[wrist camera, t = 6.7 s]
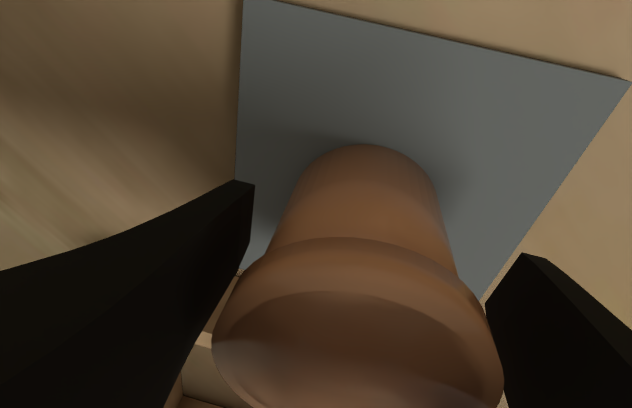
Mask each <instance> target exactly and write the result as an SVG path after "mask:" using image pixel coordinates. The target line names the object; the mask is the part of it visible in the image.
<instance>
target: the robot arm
mask: <svg viewBox="0 0 632 408" xmlns="http://www.w3.org/2000/svg"><path fill="white" fill-rule="evenodd" d="M254 194H255V185H254V184H250V183H246V182H242V181H238V180H235V179H233V180H231V181H229V182H227V183H225V184H223V185H221V186H219V187H217V188H215V189H213V190H211V191H209V192H208V193H206V194H204V195H202V196H200V197H198V198H196V199H194V200H192V201H190V202H188V203H186V204H184V205H182V206H180V207H178V208H176V209H174V210H172V211H170V212H167V213H165V214H163V215H161V216H158V217H156V218H154V219H152V220H149V221H147V222H145V223H143V224H140V225H138V226H136V227H134V228H131V229H129V230H126V231H124V232H121V233H119V234H116V235H113V236H111V237H108V238H105V239H103V240H100V241H97V242H94V243H91V244H88V245H86V246H83V247H80V248H77V249H74V250H71V251H68V252H64V253H61V254H57V255H54V256H51V257H47V258H44V259H40V260H37V261H34V262H30V263H27V264H23V265H20V266H16V267H13V268H10V269H6V270H2V271H0V408H164V405H165V403H166V401H167V399H168V397H169V395H170V392H171V390H172V388H173V386H174V384H175V382H176V380H177V378H178V376H179V373H180V371H181V369H182V367H183V365H184V363H185V361H186V359H187V357H188V355H189V353H190V351H191V350H192V348H193V346H194V344H195V342H196V340H197V339H198V337H199V335H200V334H201V332H202V330H203V329H204V327H205V325H206V324H207V322H208V320H209V319H210V317H211V315H212V314H213V312H214V310H215V309H216V307H217V305H218V304H219V302H220V300H221V299H222V297H223V295H224V293H225V292H226V290H227V288H228V287H229V285H230V283H231V282H232V280H233V278H234V276H235V275H236V273H237V271H238V269H239V266H240V264H241V262H242V260H243V257H244V255H245V253H246V250H247V248H248V246H249V243H250V237H251V227H252V216H253V205H254ZM485 310H486V318H487V321H488V324H489V327H490V330H491V334H492V337H493V340H494V343H495V346H496V349H497V353H498V356H499V359H500V362H501V365H502V369H503V375H504V393H505V396H506V400H507V403H508V407H509V408H632V330H631V329H630V328H628V327H627V326H626V325H625V324H624V323H623V322H621V321H620V320H619V319H618V318H617V317H616V316H614V315H613V314H612V313H611V312H610V311H609V310H608V309H606V308H605V307H604V306H603V305H602V304H601V303H599V302H598V301H597V300H596V299H595V298H594V297H593V296H591V295H590V294H589V293H588V292H587V291H586V290H584V289H583V288H582V287H581V286H580V285H579V284H577V283H576V282H575V281H574V280H573V279H571V278H570V277H569V276H568V275H567V274H565V273H564V272H563V271H562V270H560V269H559V268H558V267H557V266H555V265H554V264H553V263H551V262H550V261H548V260H547V259H545V258H542V257H538V256H534V255H530V254H526V253H521V254H520V255H519V257H518V258H517V260H516V261H515V262H514V264H513V265H512V267H511V268H510V269H509V271H508V272H507V273H506V275H505V276H504V278H503V279H502V280H501V282H500V283H499V284H498V286H497V287H496V289H495V290H494V291H493V293H492V294H491V296H490V297H489V298H488V300H487V301H486V302H485Z"/></svg>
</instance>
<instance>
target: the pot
mask: <svg viewBox="0 0 632 408" xmlns="http://www.w3.org/2000/svg"><path fill="white" fill-rule="evenodd" d="M211 349H212V355H213V359H214V362H215V364H216V366H217V369H218V371H219V372H220V374H221V376H222V377H223V379H224V380H225V382H226V383H227V384H228V385H229V386H230V387H231V389H232V390H233V391H234V392H235V393H236V394H237V395H238V396H239V397H241V398H242V399H243V400H244V401H245V402H247V403H248V404H249V405H250V406H252V407H253V408H496V407H497V405H498V404H499V402H500V399H501V397H502V394H503V389H504V375H503V369H502V365H501V362H500V359H499V356H498V353H497V349H496V346H495V343H494V340H493V337H492V334H491V330H490V327H489V324H488V321H487V318H486V315H485V313H484V310H483V308H482V306H481V304H480V302H479V301H478V299H477V298H476V296H475V295H474V293H473V292H472V291H471V290H470V289H469V288H468V287H467V286H466V284H465V283H464V282H463V281H462V280H460V279H459V277H458V273H457V269H456V265H455V262H454V258H453V254H452V250H451V246H450V243H449V239H448V235H447V231H446V228H445V224H444V220H443V216H442V212H441V209H440V205H439V201H438V197H437V193H436V190H435V188H434V185H433V183H432V181H431V180H430V178H429V176H428V175H427V174H426V172H425V171H424V170H423V169H422V168H421V167H420V166H419V165H418V164H417V163H416V162H415V161H413V160H412V159H410V158H409V157H407V156H406V155H404V154H402V153H400V152H398V151H395V150H392V149H390V148H387V147H382V146H377V145H368V144H358V145H349V146H343V147H340V148H337V149H334V150H331V151H329V152H327V153H325V154H323V155H321V156H320V157H318V158H317V159H315V160H314V161H313V162H312V163H310V164H309V165H308V167H307V168H306V169H305V170H304V171H303V173H302V174H301V175H300V177H299V179H298V181H297V183H296V185H295V187H294V190H293V192H292V194H291V196H290V199H289V201H288V203H287V205H286V207H285V210H284V212H283V214H282V216H281V218H280V221H279V223H278V225H277V227H276V230H275V232H274V234H273V236H272V238H271V241H270V243H269V245H268V247H267V250H266V252H265V254H264V255H263V256H262V257H260V258H259V259H257V260H256V261H254V262H253V263H252V264H251V265H250V266H249V267H248V268H247V269H246V270H245V271H244V272H243V273H242V275H241V276H240V278H239V279H238V280H237V282H236V284H235V286H234V288H233V290H232V292H231V294H230V296H229V298H228V300H227V302H226V304H225V306H224V308H223V310H222V312H221V314H220V316H219V318H218V320H217V322H216V324H215V327H214V329H213V333H212V338H211Z"/></svg>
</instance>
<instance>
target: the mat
mask: <svg viewBox="0 0 632 408" xmlns="http://www.w3.org/2000/svg"><path fill="white" fill-rule="evenodd" d="M631 84H632V82H630V81H627V80H625V79H621V78H617V77H612V76H608V75H603V74H599V73H595V72H590V71H586V70H581V69H577V68H573V67H568V66H564V65H559V64H555V63H550V62H546V61H542V60H537V59H533V58H528V57H524V56H520V55H515V54H511V53H506V52H502V51H498V50H493V49H489V48H484V47H480V46H476V45H471V44H467V43H462V42H458V41H453V40H449V39H445V38H440V37H436V36H431V35H427V34H423V33H418V32H414V31H409V30H405V29H401V28H396V27H392V26H387V25H383V24H378V23H374V22H370V21H365V20H361V19H356V18H352V17H348V16H343V15H339V14H334V13H330V12H326V11H321V10H317V9H312V8H308V7H304V6H299V5H295V4H290V3H286V2H281V1H277V0H243V18H242V38H241V59H240V79H239V99H238V119H237V139H236V159H235V180H238V181H242V182H246V183H250V184H254V185H255V194H254V205H253V216H252V227H251V237H250V243H249V246H248V248H247V250H246V253H245V255H244V257H243V260H242V262H241V264H240V266H239V268H240V269H244V270H246V269H247V268H248V267H249V266H250V265H251V264H252V263H253V262H254V261H256V260H257V259H259V258H260V257H262V256H263V255H264V254H265V252H266V250H267V247H268V245H269V243H270V241H271V238H272V236H273V234H274V232H275V230H276V227H277V225H278V223H279V221H280V218H281V216H282V214H283V212H284V210H285V207H286V205H287V203H288V201H289V199H290V196H291V194H292V192H293V190H294V187H295V185H296V183H297V181H298V179H299V177H300V175H301V174H302V173H303V171H304V170H305V169H306V168H307V167H308V165H309V164H310V163H312V162H313V161H314V160H315V159H317V158H318V157H320V156H321V155H323V154H325V153H327V152H329V151H331V150H334V149H337V148H340V147H343V146H349V145H358V144H368V145H377V146H382V147H387V148H390V149H392V150H395V151H398V152H400V153H402V154H404V155H406V156H407V157H409V158H410V159H412V160H413V161H415V162H416V163H417V164H418V165H419V166H420V167H421V168H422V169H423V170H424V171H425V172H426V174H427V175H428V176H429V178H430V180H431V181H432V183H433V185H434V188H435V190H436V193H437V197H438V201H439V205H440V209H441V212H442V216H443V220H444V224H445V228H446V231H447V235H448V239H449V243H450V246H451V250H452V254H453V258H454V262H455V265H456V269H457V273H458V277H459V279H460V280H462V281H463V282H464V283H465V284H466V286H467V287H468V288H469V289H470V290H471V291H472V292H473V293H474V295H475V296H476V298H477V299H478V301H479V300H480V299H481V297H482V296H483V294H484V293H485V291H486V290H487V289H488V287H489V286H490V284H491V283H492V282H493V280H494V279H495V277H496V276H497V274H498V273H499V272H500V270H501V269H502V267H503V266H504V264H505V263H506V262H507V260H508V259H509V257H510V256H511V255H512V253H513V252H514V250H515V249H516V247H517V246H518V245H519V243H520V242H521V240H522V239H523V238H524V236H525V235H526V233H527V232H528V230H529V229H530V228H531V226H532V225H533V223H534V222H535V220H536V219H537V218H538V216H539V215H540V213H541V212H542V211H543V209H544V208H545V206H546V205H547V203H548V202H549V201H550V199H551V198H552V196H553V195H554V194H555V192H556V191H557V189H558V188H559V186H560V185H561V184H562V182H563V181H564V179H565V178H566V176H567V175H568V174H569V172H570V171H571V169H572V168H573V167H574V165H575V164H576V162H577V161H578V159H579V158H580V157H581V155H582V154H583V152H584V151H585V150H586V148H587V147H588V145H589V144H590V142H591V141H592V140H593V138H594V137H595V135H596V134H597V132H598V131H599V130H600V128H601V127H602V125H603V124H604V123H605V121H606V120H607V118H608V117H609V115H610V114H611V113H612V111H613V110H614V108H615V107H616V106H617V104H618V103H619V101H620V100H621V98H622V97H623V96H624V94H625V93H626V91H627V90H628V88H629V87H630V86H631Z"/></svg>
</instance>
